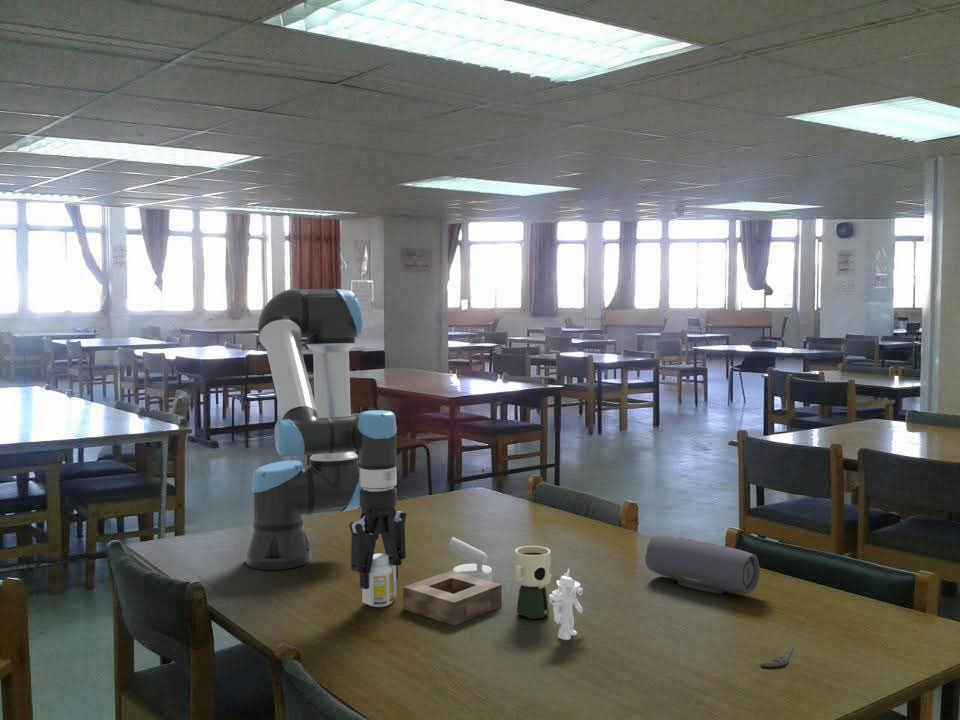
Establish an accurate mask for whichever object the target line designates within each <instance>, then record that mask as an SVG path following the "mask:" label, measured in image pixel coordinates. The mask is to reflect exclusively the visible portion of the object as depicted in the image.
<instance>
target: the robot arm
mask: <svg viewBox="0 0 960 720" xmlns="http://www.w3.org/2000/svg"><path fill="white" fill-rule="evenodd" d="M258 319H259V320H258V322H257V334H258V338H259V342H260V344H261V345H262V347H264V348H265V350H266V355H267V359H268V364H269V368H270V373H271V376H272V382H273V385H274V390H275V395H276V400H277V404H278V408H279V414H280V416H281V419H280V420H278V421H276V422H275V425H274V433H273V434H274V445H275V449H276V452H277V453H278V455H280V456H281V457H302V456H310V457H309V465H306V466H304V464H303V462H302V461H300V460H297V459H295V460H293V459H291V460H281V461H276V462H271V463H268V464H265V465H262V466H260V467H258V468H257V469H255V471H254V472H253V473H252V474H253V475H252V480H251V481H252V483H251V493H252V522H253V523H252V525H253V527H252V528H253V530H252V534H251V538H250V541H249V545H248V549H247V551H246V555H245V556H246V557H245V558H246V559H245V560H246V563H245V564H246V565H247V566H248V567H250V568H252V569H255V570H262V571H263V570H265V571H279V570H280V571H281V570H288V569H294V568H297V567H301V566H304V565H306V564H308V563H309V562H311V561H312V549H311V545H310V542H309V540H308V535H307V533H306V531H305V528H304V516H310V515H319V514H320V515H321V514H328V513H344V512H346V511H354V510H356V509H358V508H361V515H360V519H359V520H357V521H356V522H354V521H351V522H349V525H348V526H349V530H350V533H351V550H350V551H351V555H350V556H351V557H350V559H351V561H350V570H351V571H353V572H356V573H358V574H359V587H360V589H361V594H362V597H361V598H362V599H361V601H362V602H361V603H363V604H366V605H368V604H369V605H374V573H373V572H370V570H371V565H372V560H373V555H374V554H375V549H376V548H375V547H376V544H377V541H378V539H379V537H380V536H381V539H382V543H383V544H382V545H383V547H384V548H383V549H384V551H385V553H384V554H387V555H388V559H389V561H388V564H387V565H389V566H391V568H392V582H393V598H396V597H397V580H398V578H399V577H398V576H399V566H401V565H402V564H403V561H402V560H405V559H406V555H407V553H406V552H407V551H406V531H405V530H406V529H405V528H406V527H405V526H406V525H405V524H406V523H405V522H406V519H407V513H406V512H403V511H399V510H397V509H396V508H395V507H396V506H397V504H398V498H397V497H398V495H397V493H398V492H397V491H398V490H397V488H396V487H395V486H397V484H398V483H397V431H398V426H397V420H396V415H395V413H394V412H392V411H391V410H384V409H383V410H382V409H381V410H380V409H379V410H376V409H375V410H374V409H373V410H367V411H366V410H364V411H362V412H360V413H351V382H350V381H351V379H350V376H351V375H350V373H351V372H350V351H351V349H352V348H353V347H354V346H355V345H356V338H358V337H360V336H361V335H362V332H363V328H362V327H363V326H364V325H363V315H362V309H361V305H360V302H359V300H358V298H357V296H356V295H355V293H354V292H352V291H351V290H348V289H339V288H320V289H318V288H317V289H315V288H314V289H313V288H312V289H309V288H307V289H306V288H305V289H298V288H292V289H287V290H284V291H281V292H279V293H277V294H276V295H274V296H273V297H272V298H271V299H270V300H268V302H267V303H266V304H265V306H264V307H263V309H262V311H261V313H260V315H259V318H258ZM301 339H306V347H307V348H308V349H309V350H310V351H312V354H313V355H312V358H313V360H312V361H313V385H314V386H313V390H314V391H313V390H312V387H311V382H310V379H309V373H308V370H307V367H306V363H305V359H304V354H303V352H302V351H303V350H302V347H301V343H300V340H301ZM313 393H314V394H313ZM356 452H358V454H357V453H356ZM369 605H368V606H369Z"/></svg>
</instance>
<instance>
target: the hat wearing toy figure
mask: <svg viewBox="0 0 960 720" xmlns="http://www.w3.org/2000/svg"><path fill="white" fill-rule="evenodd" d="M570 568H571V567H568V569H567V572H564V574H563V575H561V576H560V578H559V580H558V579H557V580H556V584H557V589H554V590H553V591H551V593H550V594H549V595H548V598H549V599H548V602H549V603H550V604H551V605H552V606H553V608H552V612H553V620H554V623H555V624H557V625H559V624H560V627H559V630H558V633H557V639H561V640H564V641H569V640H571V639H572V636H573V637H575V636H577V635H578V631H576V630H575V629H574V626H575V619H574V612H573V607H574V608H575V609H576V611H577V612H578V614H583V612H584V610H583V607H582V605H581V604H580V602H579V599H578V598H577V594H578V595H579V597H581V596H582V595H583V592H584V588H582V587H581V583H580V581H577V580H574V579H573V578H572V576H571V577H570ZM573 605H574V606H573Z"/></svg>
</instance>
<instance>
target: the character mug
mask: <svg viewBox="0 0 960 720" xmlns="http://www.w3.org/2000/svg"><path fill="white" fill-rule="evenodd" d="M551 556H552V552H551V549H549V548H548V547H544V546H541V545H525V546H520V547H517V548H515V550H514V581H515V583H516V584H517V585H520V588H519V590H518V591H519V592H518V597H517V603H516V604H517V607H516V613H517V614H519V615H520V616H522V617H525V618H528V619H542V618H545V612H546V615H547V616H549V614H550V610H549V608H550V607H549V599H548V593H547V588H546V586H548V585H549V584H550V583H551V581H552V572H551V564H552V557H551Z"/></svg>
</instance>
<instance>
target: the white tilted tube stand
mask: <svg viewBox="0 0 960 720" xmlns="http://www.w3.org/2000/svg"><path fill="white" fill-rule="evenodd" d="M446 550H447V551H449V552H451V553H453V554H455V555H457V556H459V557H461V558H463V559H464V560H465V559H466V560H467V561H468V562H471V563H463V564H459V565H457V566H454V568H453V569H452V571H455V572H458V573H462V574H466V575H469V576H473V577H476V578H480V579H484V580H487V581H491V582H493V569H492V567H491V566H489V565H486V563H487V561H488V555H487V554H486V553H485V552H484V551H482V550H480V549H478V548H476V547H474V546H472V545H470V544H468V543H466V542H464V541H462V540H460V539H458V538H456V537H454V536H452V537H451V539H450V541H449V543H448V545H447V548H446Z"/></svg>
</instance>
